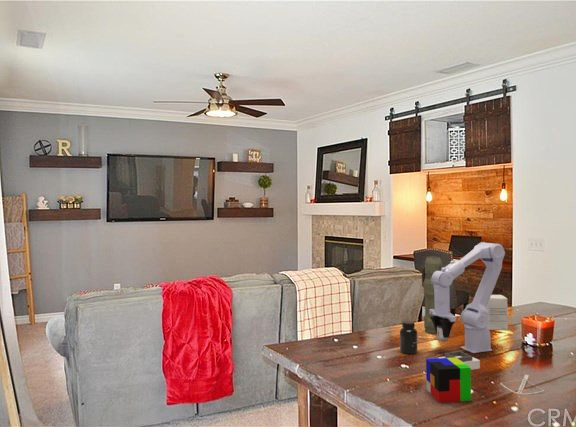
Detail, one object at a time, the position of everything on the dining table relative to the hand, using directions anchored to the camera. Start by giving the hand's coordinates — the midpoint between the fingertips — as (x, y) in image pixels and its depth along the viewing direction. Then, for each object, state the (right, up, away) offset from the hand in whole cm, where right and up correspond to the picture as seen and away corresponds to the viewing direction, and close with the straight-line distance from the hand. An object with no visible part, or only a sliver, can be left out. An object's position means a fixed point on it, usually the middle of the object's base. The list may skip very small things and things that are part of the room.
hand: (442, 335), depth 188 cm
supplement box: (+37, -6, +38) cm, 54 cm away
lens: (0, -2, 0) cm, 2 cm away
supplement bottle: (-13, -8, +3) cm, 15 cm away
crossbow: (+15, -8, -34) cm, 38 cm away
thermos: (+7, -7, +33) cm, 34 cm away
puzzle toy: (-11, -8, -40) cm, 43 cm away
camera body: (+1, -7, -15) cm, 17 cm away
